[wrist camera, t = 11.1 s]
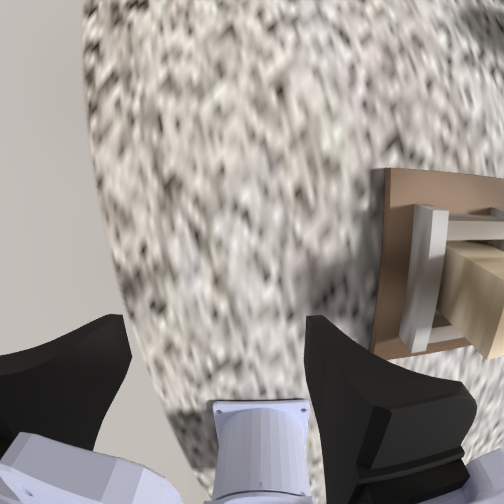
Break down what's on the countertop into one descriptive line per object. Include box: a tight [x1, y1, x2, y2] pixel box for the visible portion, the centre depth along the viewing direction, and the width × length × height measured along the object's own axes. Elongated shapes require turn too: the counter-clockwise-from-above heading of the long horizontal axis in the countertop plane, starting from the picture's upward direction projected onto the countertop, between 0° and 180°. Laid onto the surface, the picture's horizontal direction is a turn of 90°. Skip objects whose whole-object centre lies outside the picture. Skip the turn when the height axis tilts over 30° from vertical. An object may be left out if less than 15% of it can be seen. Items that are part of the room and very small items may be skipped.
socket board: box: [369, 168, 504, 360], centre depth 19 cm, size 14×12×4 cm
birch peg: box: [436, 241, 504, 360], centre depth 16 cm, size 4×4×8 cm
